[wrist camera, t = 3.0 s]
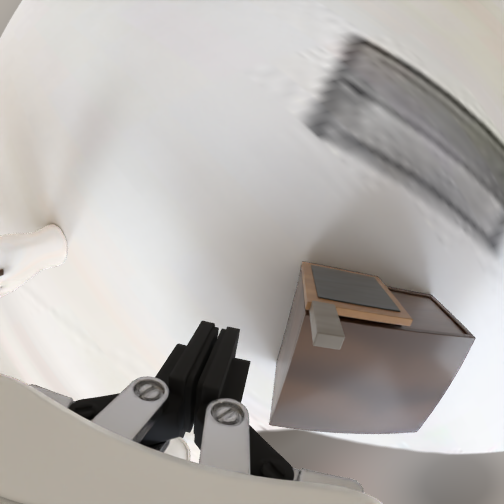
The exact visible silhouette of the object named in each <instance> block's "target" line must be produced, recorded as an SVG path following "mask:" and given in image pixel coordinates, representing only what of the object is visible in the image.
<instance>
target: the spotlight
mask: <svg viewBox="0 0 504 504" xmlns="http://www.w3.org/2000/svg"><path fill="white" fill-rule="evenodd" d="M164 453H166V454H169V455H172V456H175V457H178V458H181V459H185V460H188V461H190V449H189V447H188V445H187V443H186V442H185V441H184V440H183V439H182V438H181V437H178V438H174V439H171V442H170V444H169V446H168V447H167V449H166V450H165V452H164Z"/></svg>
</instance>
